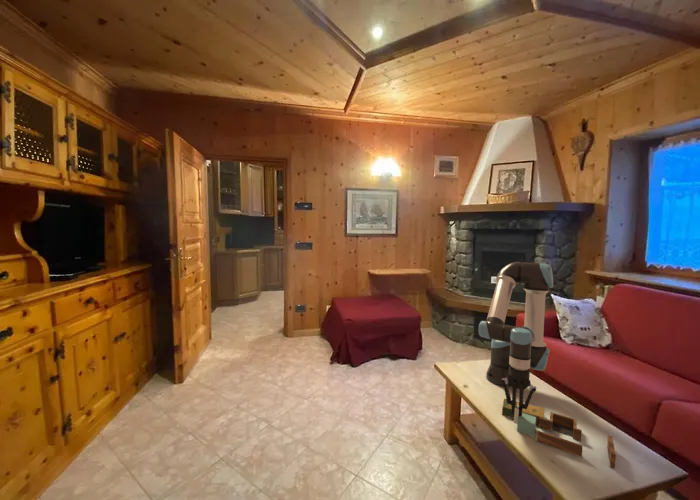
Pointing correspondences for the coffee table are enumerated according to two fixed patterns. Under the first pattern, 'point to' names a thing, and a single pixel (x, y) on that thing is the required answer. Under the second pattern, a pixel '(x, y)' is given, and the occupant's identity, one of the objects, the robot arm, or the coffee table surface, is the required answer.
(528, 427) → the block
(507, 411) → the carton
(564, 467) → the coffee table surface
